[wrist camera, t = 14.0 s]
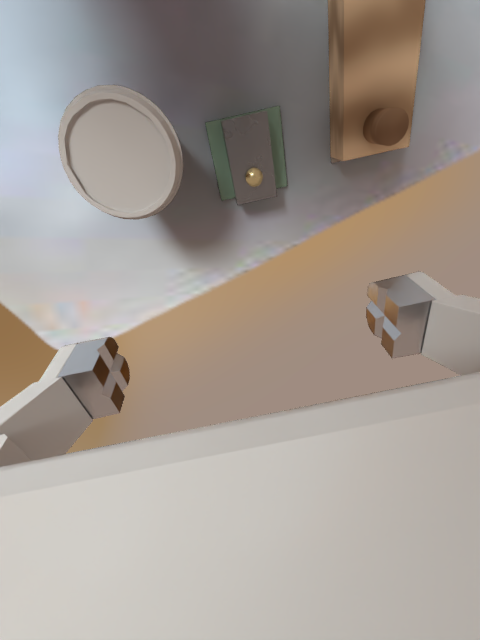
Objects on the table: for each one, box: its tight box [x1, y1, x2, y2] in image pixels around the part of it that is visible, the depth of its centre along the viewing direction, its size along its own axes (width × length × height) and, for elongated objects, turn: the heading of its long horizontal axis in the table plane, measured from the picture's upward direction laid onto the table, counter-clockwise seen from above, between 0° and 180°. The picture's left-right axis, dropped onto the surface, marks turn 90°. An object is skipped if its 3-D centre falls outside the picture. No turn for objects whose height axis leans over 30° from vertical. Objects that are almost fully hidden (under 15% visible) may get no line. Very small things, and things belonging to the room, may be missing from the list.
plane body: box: [328, 0, 425, 163], centre depth 26 cm, size 21×7×9 cm, turn 11°
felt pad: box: [205, 106, 287, 201], centre depth 35 cm, size 8×8×1 cm
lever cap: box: [221, 111, 277, 205], centre depth 33 cm, size 8×4×4 cm, turn 11°
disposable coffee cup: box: [58, 85, 183, 219], centre depth 28 cm, size 10×10×12 cm
